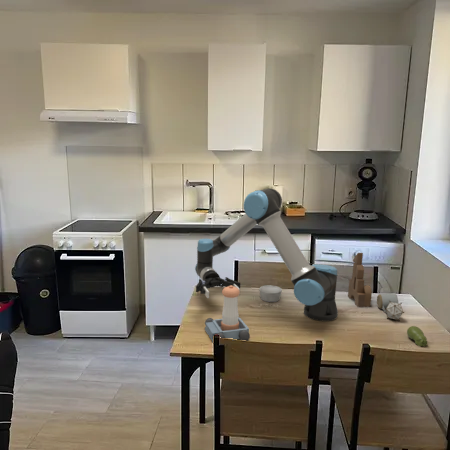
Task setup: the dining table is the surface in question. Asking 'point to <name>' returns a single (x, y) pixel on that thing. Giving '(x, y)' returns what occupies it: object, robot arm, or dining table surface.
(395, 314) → the game die
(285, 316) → the dining table surface
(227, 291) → the pepper shaker
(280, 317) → the dining table surface
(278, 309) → the dining table surface
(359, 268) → the wooden toy
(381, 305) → the grey cylindrical jar
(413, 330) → the green toy animal
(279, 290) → the ramekin
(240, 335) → the chassis
